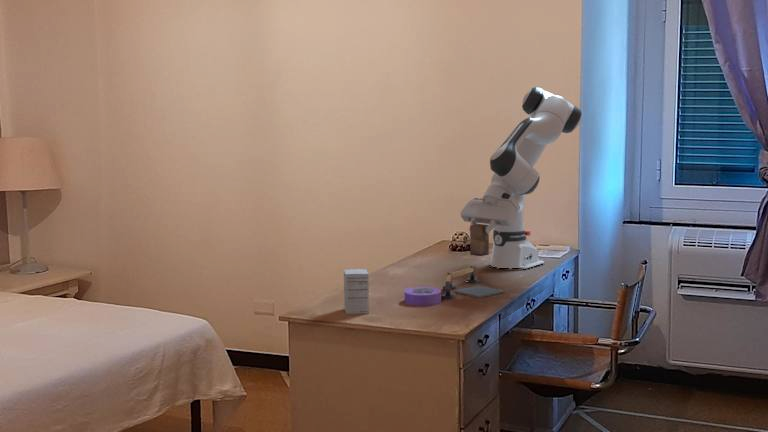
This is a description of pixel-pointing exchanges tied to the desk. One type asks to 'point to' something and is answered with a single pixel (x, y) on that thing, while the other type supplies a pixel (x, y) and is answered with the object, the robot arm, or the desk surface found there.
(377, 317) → the desk surface
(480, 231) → the tan stacked post
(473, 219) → the robot arm
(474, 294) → the slate pad
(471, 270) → the hinged wooden linkage
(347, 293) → the supplement box
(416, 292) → the masking tape
